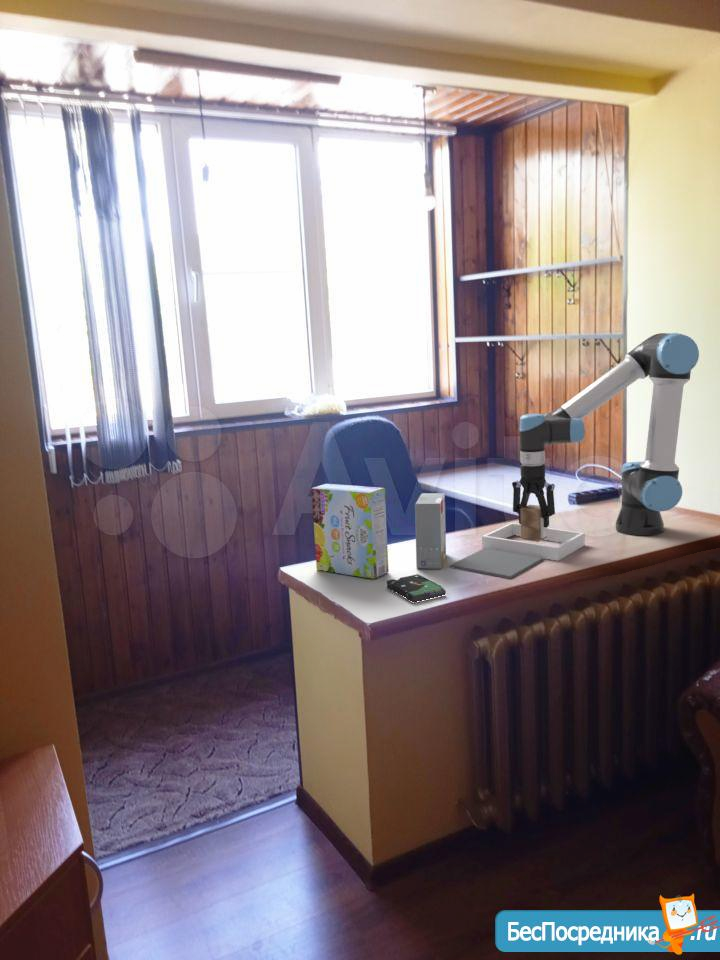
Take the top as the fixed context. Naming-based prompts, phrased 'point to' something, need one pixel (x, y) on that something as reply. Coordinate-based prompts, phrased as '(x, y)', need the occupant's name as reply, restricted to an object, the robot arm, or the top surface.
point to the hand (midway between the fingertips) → (534, 535)
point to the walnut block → (531, 523)
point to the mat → (497, 563)
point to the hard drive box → (430, 530)
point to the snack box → (350, 530)
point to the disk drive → (416, 588)
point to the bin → (567, 538)
